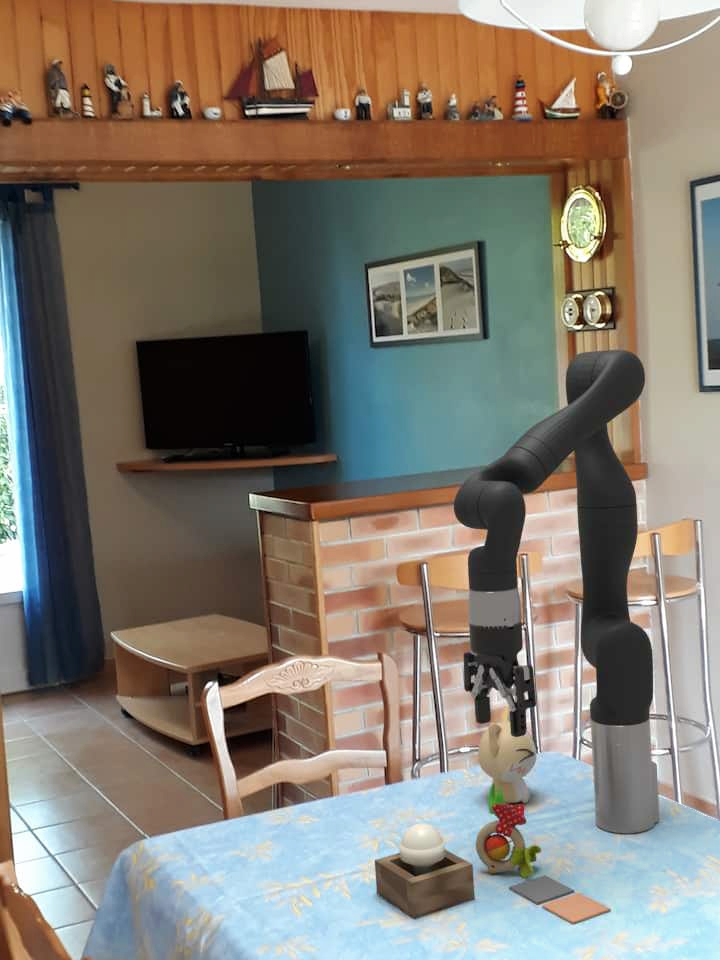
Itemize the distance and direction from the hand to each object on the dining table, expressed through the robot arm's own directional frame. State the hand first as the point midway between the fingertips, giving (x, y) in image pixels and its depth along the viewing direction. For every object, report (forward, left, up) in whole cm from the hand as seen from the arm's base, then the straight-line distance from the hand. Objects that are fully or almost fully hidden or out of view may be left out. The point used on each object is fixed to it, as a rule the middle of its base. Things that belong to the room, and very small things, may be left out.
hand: (500, 729), depth 173 cm
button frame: (+14, -1, -22) cm, 26 cm away
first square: (0, +8, -22) cm, 23 cm away
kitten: (-18, -24, -22) cm, 37 cm away
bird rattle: (0, 0, -22) cm, 22 cm away
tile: (0, +15, -22) cm, 26 cm away
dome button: (+14, -1, -18) cm, 23 cm away
